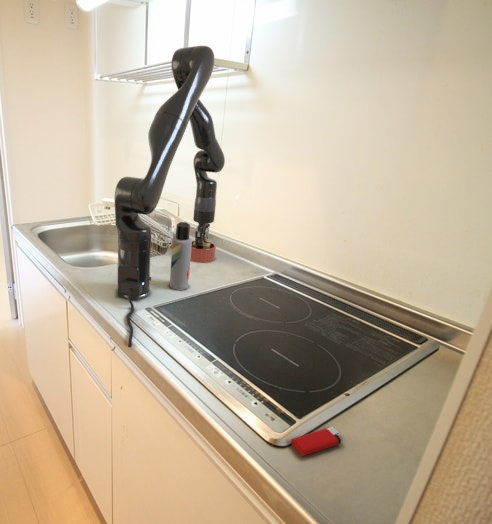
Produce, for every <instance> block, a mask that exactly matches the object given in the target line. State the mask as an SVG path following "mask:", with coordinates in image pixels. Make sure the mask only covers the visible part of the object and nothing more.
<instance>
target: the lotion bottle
mask: <svg viewBox="0 0 492 524" xmlns="http://www.w3.org/2000/svg"><path fill="white" fill-rule="evenodd" d="M190 229H191V224H190V223H188V222H185V221H181V222H178V223H176V229H175V237H173V238H172V243H171V244H172V245H171V256H170V273H169V287H170V288H171V289H173V290H177V291H183V290H187V289H188V287H189V281H190V270H191V260H190V259H191V246H192V241H193V240H192V239H191V238H190Z"/></svg>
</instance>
